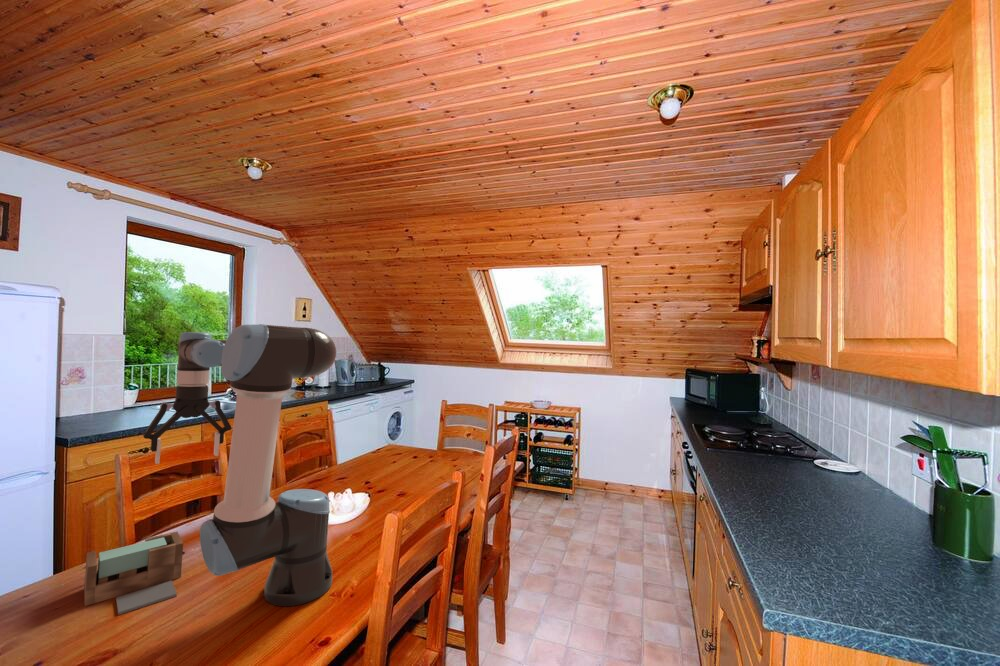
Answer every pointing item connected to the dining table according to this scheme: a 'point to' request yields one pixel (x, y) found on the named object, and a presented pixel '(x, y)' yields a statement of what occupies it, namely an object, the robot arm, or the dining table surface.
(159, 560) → the walnut jig
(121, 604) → the slate pad
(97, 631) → the dining table surface
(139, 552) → the teal block
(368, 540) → the dining table surface
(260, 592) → the dining table surface
